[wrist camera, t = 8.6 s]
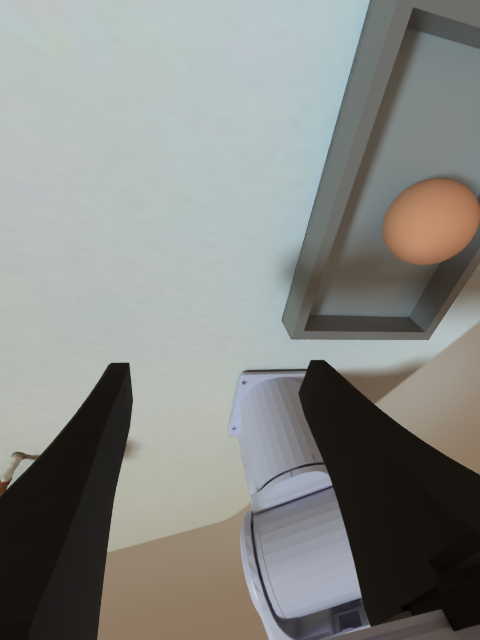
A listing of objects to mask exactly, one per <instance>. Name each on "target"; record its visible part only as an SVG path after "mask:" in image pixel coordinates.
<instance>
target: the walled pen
mask: <svg viewBox="0 0 480 640" xmlns="http://www.w3.org/2000/svg"><path fill="white" fill-rule="evenodd" d="M439 178H441V179H450V180H454V181H457V182H459V183H461V184H463V185H465V186H466V187H467V188H469V189H470V190H471V191H472V192H473V194H474V195H475V197H476V198H477V200H478V203H479V206H480V0H370V3H369V6H368V10H367V13H366V17H365V21H364V24H363V28H362V32H361V35H360V39H359V42H358V46H357V50H356V53H355V57H354V60H353V64H352V68H351V71H350V75H349V79H348V82H347V86H346V89H345V93H344V97H343V100H342V104H341V107H340V111H339V115H338V118H337V122H336V126H335V129H334V133H333V136H332V140H331V144H330V147H329V151H328V154H327V158H326V162H325V165H324V169H323V172H322V176H321V180H320V183H319V187H318V191H317V194H316V198H315V201H314V205H313V209H312V212H311V216H310V219H309V223H308V227H307V230H306V234H305V238H304V241H303V245H302V248H301V252H300V256H299V259H298V263H297V266H296V270H295V274H294V277H293V281H292V285H291V288H290V292H289V295H288V299H287V303H286V306H285V310H284V313H283V317H282V322H283V324H284V326H285V328H286V330H287V332H288V334H289V336H290V338H291V339H327V340H429V338H430V337H431V335H432V334H433V332H434V331H435V329H436V328H437V326H438V325H439V323H440V322H441V320H442V319H443V317H444V316H445V314H446V313H447V311H448V310H449V308H450V306H451V305H452V303H453V302H454V300H455V299H456V297H457V296H458V294H459V293H460V291H461V290H462V288H463V287H464V285H465V284H466V282H467V281H468V279H469V278H470V276H471V275H472V273H473V272H474V270H475V269H476V267H477V265H478V264H479V262H480V221H479V226H478V229H477V231H476V233H475V235H474V237H473V238H472V240H471V241H470V242H469V244H468V245H467V246H466V247H465V248H464V249H463V250H462V251H460V252H459V253H458V254H456V255H454V256H453V257H451V258H449V259H447V260H445V261H442V262H439V263H435V264H430V265H416V264H411V263H407V262H404V261H402V260H400V259H398V258H397V257H396V256H394V255H393V254H392V253H391V252H390V251H389V249H388V248H387V246H386V244H385V242H384V239H383V234H382V225H383V219H384V216H385V214H386V211H387V209H388V208H389V206H390V205H391V203H392V202H393V201H394V199H395V198H396V197H397V196H398V195H399V194H400V193H402V192H403V191H404V190H406V189H407V188H409V187H410V186H412V185H414V184H417V183H419V182H422V181H425V180H429V179H439Z"/></svg>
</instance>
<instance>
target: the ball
mask: <svg viewBox="0 0 480 640" xmlns="http://www.w3.org/2000/svg"><path fill="white" fill-rule="evenodd" d="M479 221H480V206H479V203H478V200H477V198H476V197H475V195H474V194H473V192H472V191H471V190H470V189H469V188H467V187H466V186H465V185H463V184H461V183H459V182H457V181H454V180H450V179H441V178H439V179H429V180H425V181H422V182H419V183H417V184H414V185H412V186H410V187H409V188H407V189H406V190H404V191H403V192H402V193H400V194H399V195H398V196H397V197H396V198H395V199H394V201H393V202H392V203H391V205H390V206H389V208H388V209H387V211H386V214H385V216H384V219H383V225H382V234H383V239H384V242H385V244H386V246H387V248H388V249H389V251H390V252H391V253H392V254H393V255H394V256H396V257H397V258H398V259H400V260H402V261H404V262H407V263H411V264H416V265H430V264H435V263H439V262H442V261H445V260H447V259H449V258H451V257H453V256H454V255H456V254H458V253H459V252H460V251H462V250H463V249H464V248H465V247H466V246H467V245H468V244H469V242H470V241H471V240H472V238H473V237H474V235H475V233H476V231H477V229H478V226H479Z"/></svg>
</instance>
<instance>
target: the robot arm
mask: <svg viewBox="0 0 480 640" xmlns="http://www.w3.org/2000/svg"><path fill="white" fill-rule="evenodd" d="M243 381H244V382H243ZM132 403H133V397H132V386H131V376H130V366H129V363H111V364H109V365H108V367H107V368H106V370H105V372H104V373H103V375H102V377H101V378H100V380H99V381H98V383H97V384H96V386H95V387H94V389H93V390H92V392H91V393H90V395H89V396H88V397H87V399H86V400H85V402H84V403H83V404H82V406H81V407H80V408H79V410H78V411H77V412H76V414H75V415H74V416H73V418H72V419H71V420H70V421H69V422H68V424H67V425H66V426H65V427H64V429H63V430H62V431H61V432H60V433H59V435H58V436H57V437H56V438H55V439H54V441H53V442H52V443H51V444H50V445H49V446H48V447H47V449H46V450H45V451H44V452H43V453H42V454H41V455H40V456H39V457H38V458H37V459H36V460H35V462H34V463H33V464H32V465H31V466H30V467H29V468H28V469H27V470H26V471H25V472H24V473H23V474H22V475H21V476H20V477H19V478H18V479H17V480H16V481H15V482H14V483H13V484H12V485H11V486H10V487H9V488H8V489H7V490H6V491H5V492H4V493H3V494H2V495H1V496H0V640H97V634H98V625H99V615H100V606H101V597H102V589H103V580H104V571H105V563H106V555H107V547H108V539H109V531H110V524H111V517H112V509H113V502H114V497H115V491H116V486H117V482H118V477H119V473H120V469H121V464H122V460H123V455H124V451H125V446H126V442H127V437H128V433H129V428H130V421H131V413H132ZM228 433H229V436H232V437H233V436H238V439H239V445H240V450H241V455H242V461H243V466H244V472H245V477H246V482H247V487H248V491H249V493H250V495H251V496H250V499H251V504H252V509H253V510H251V511H248V512H247V513H246V514H245V517H244V521H243V524H242V527H241V531H240V546H241V547H240V548H241V556H242V563H243V569H244V574H245V577H246V582H247V586H248V589H249V592H250V596H251V598H252V601H253V603H254V606H255V608H256V610H257V611H258V613H259V615H260V616H261V619H262V621H263V624H264V627H265V630H266V632H267V635H268V638H269V640H480V475H479V474H477V473H475V472H473V471H472V470H470V469H468V468H466V467H465V466H463V465H461V464H459V463H458V462H456V461H454V460H453V459H451V458H449V457H447V456H446V455H444V454H443V453H441V452H440V451H438V450H436V449H435V448H433V447H432V446H430V445H428V444H427V443H425V442H424V441H422V440H421V439H419V438H418V437H417V436H415V435H414V434H412V433H411V432H409V431H408V430H407V429H405V428H404V427H402V426H401V425H400V424H398V423H397V422H396V421H394V420H393V419H392V418H390V417H389V416H388V415H387V414H385V413H384V412H383V411H382V410H381V409H379V408H378V407H377V406H376V405H374V404H373V403H372V402H371V401H370V400H368V399H367V398H366V397H365V396H364V395H363V394H362V393H360V392H359V391H358V390H357V389H356V388H355V387H354V386H353V385H351V384H350V383H349V382H348V381H347V380H346V379H345V378H344V377H343V376H342V375H340V374H339V373H338V372H337V371H336V370H335V369H334V368H333V367H332V366H330V365H329V364H328V363H327V362H326V361H325V360H311V361H310V364H309V366H308V369H307V371H279V372H244V373H242V374H241V375H240V377H239V382H238V386H237V391H236V396H235V401H234V406H233V411H232V416H231V421H230V426H229V431H228Z"/></svg>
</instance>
